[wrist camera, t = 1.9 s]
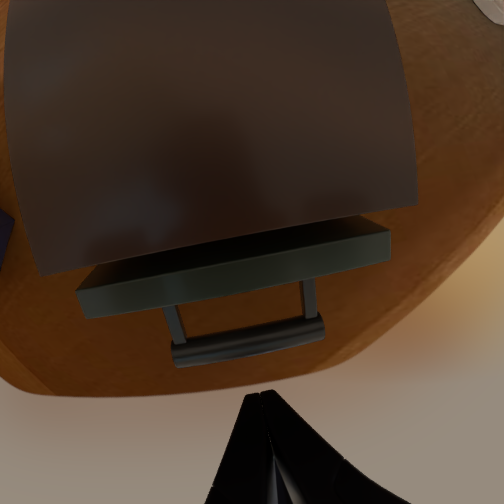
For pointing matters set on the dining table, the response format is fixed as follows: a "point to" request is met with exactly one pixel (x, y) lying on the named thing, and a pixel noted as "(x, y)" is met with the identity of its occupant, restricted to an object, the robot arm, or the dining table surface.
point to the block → (4, 232)
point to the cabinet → (199, 121)
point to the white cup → (492, 9)
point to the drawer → (236, 283)
